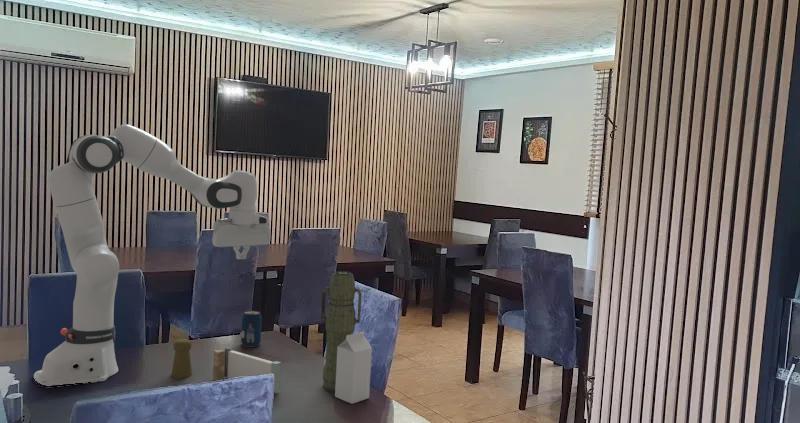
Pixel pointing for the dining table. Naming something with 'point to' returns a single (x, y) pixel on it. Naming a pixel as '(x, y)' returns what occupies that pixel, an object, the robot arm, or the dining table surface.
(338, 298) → the thermos
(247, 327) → the soda can
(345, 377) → the milk carton
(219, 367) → the gate post
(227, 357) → the gate
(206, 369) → the dining table surface
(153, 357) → the dining table surface
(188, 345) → the cork
